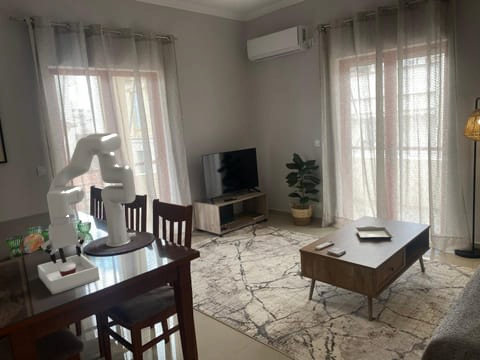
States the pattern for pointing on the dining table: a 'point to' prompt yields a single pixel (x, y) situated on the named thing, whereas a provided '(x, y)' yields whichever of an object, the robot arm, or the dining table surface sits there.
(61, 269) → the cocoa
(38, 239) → the tin
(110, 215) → the robot arm
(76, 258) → the box
